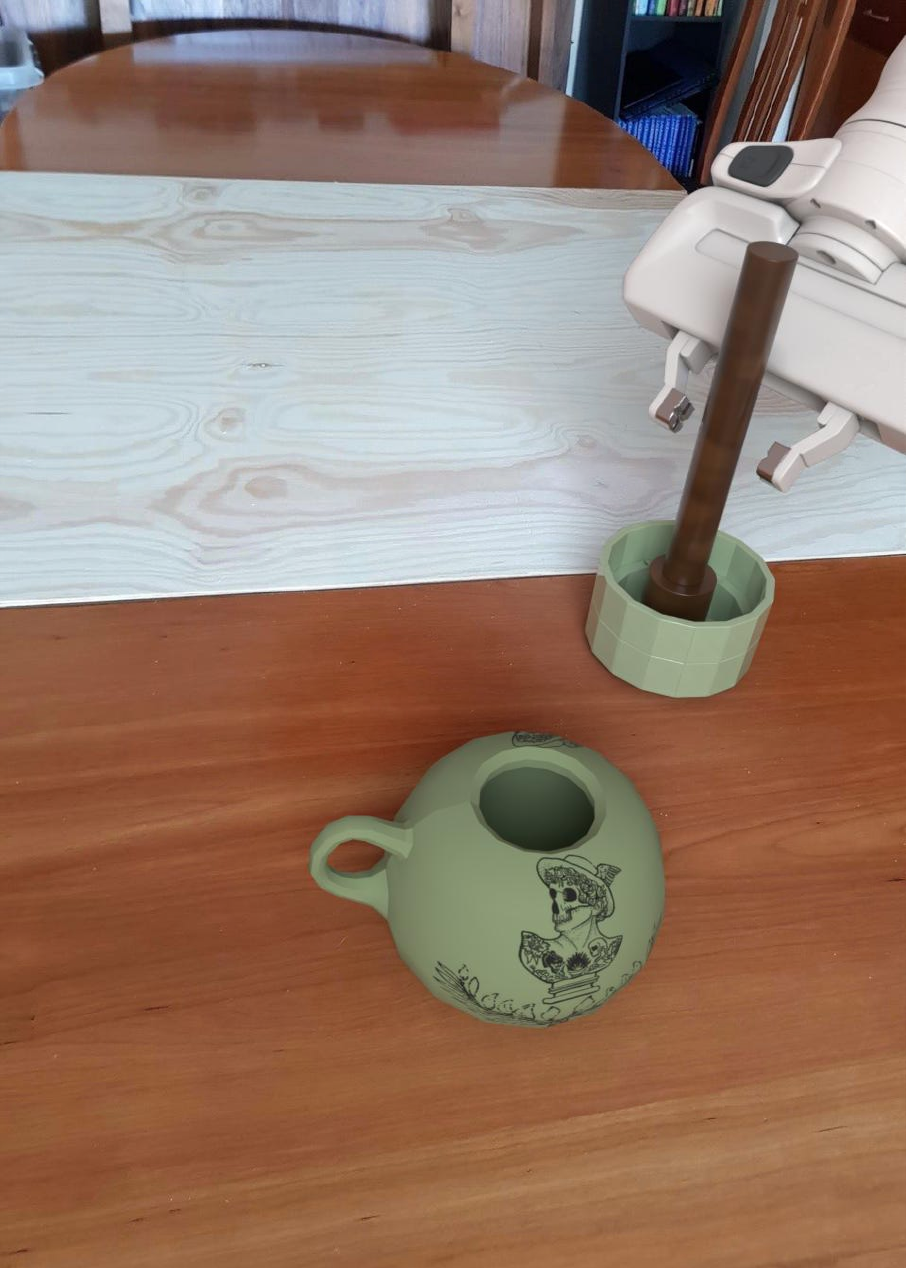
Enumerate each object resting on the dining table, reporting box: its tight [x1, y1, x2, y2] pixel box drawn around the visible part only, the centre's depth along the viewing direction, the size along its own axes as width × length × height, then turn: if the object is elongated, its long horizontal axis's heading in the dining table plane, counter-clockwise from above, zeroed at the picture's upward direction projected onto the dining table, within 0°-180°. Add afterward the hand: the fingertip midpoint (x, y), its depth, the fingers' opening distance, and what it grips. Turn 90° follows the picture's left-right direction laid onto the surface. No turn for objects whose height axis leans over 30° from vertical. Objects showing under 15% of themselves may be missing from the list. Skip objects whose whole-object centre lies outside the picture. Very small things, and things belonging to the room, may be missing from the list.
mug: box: [307, 730, 667, 1030], centre depth 47 cm, size 16×13×9 cm
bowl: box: [584, 519, 776, 699], centre depth 63 cm, size 10×10×6 cm
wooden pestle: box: [640, 241, 799, 622], centre depth 57 cm, size 4×4×24 cm
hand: (713, 452), depth 56 cm, fingers open, 6 cm apart
